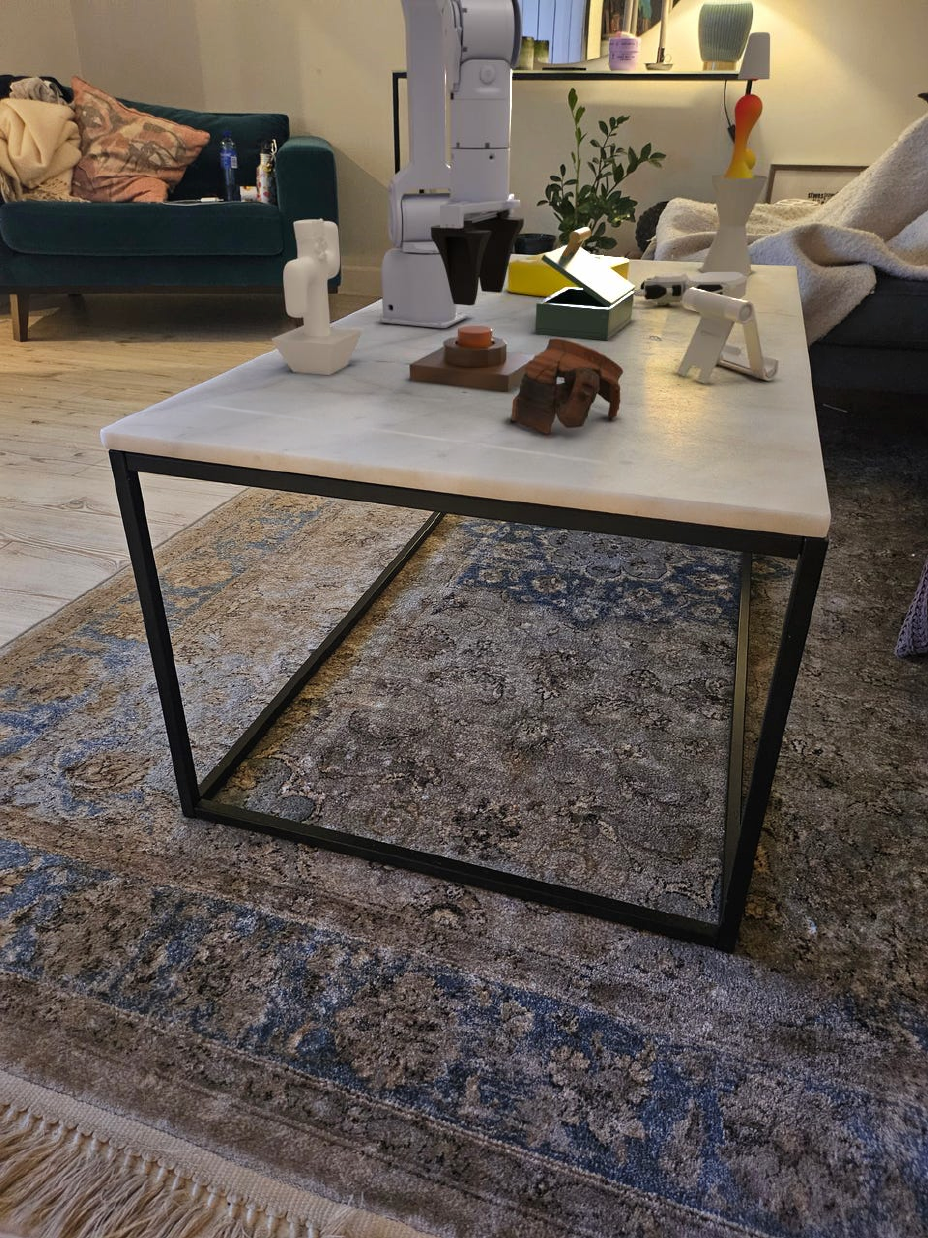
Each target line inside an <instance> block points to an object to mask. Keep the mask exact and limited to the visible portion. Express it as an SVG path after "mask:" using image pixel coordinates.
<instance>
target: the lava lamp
mask: <svg viewBox="0 0 928 1238" xmlns="http://www.w3.org/2000/svg"><path fill="white" fill-rule="evenodd" d="M770 68H771V35H770V33H769V32H767V31H756V32H751V33H750V34H749V36H748V40H747V43H746V47H745V50H744V53H743V58H742V62H741V65H740V69H739V72H738V77H737V80H741V81H742V80H745V81H748V80H750V81H752V82H757V81H758V80H762V81H763V80H770V76H771V74H770V73H771V72H770V71H771V69H770ZM763 107H764V106H763V102H762V100H761V97H759V96H758V95H756V94H754V93H747V94H745V95H743V96H741V97H740V98H739V99H738V100H737V102H736V104H735V106H734V134H735V136H734V145H733V146H734V147H733V153H732V156H731V161H730V164H729V166H728V168H727V170H726V172H725V174H713V175H711V182H712V187H713V193H714V199H715V205H716V211H717V216H718V222H719V225H718V228H717V230H716V232H715V234H714V237H713V240H712V242H711V245H710V247H709V249H708V252H707V254H706V257H705V259H704V261H703V263H702V266H701V268H700V271H701V272H700V273H706V272H739V273H742V274H745V273H750V274H749V275H751V274H752V273H753V272H752V266H751V265H752V264H751V258H750V249H749V243H748V235H747V227H746V226H747V223H748V220H749V218H750V216H751V214H752V212H753V210H754V208H755V206H756V204H757V201H758V200H759V198H760V195H761V194H762V191H763V189H764V187H765V185H766V183H767V180H768V176H764V175H757V174H756V175H755V174H753V173H752V172H751V170H752V169H754V167H755V165H756V159H757V158H756V153H754V151H753V150H752V149H748V148H747V147H748V141H749V137H750V135H751V133H752V130H753V129H754V127H755V125H756V123H757V122H758V120H759V118H760V117H761V115H762V113H763Z"/></svg>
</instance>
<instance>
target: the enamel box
mask: <svg viewBox="0 0 928 1238" xmlns="http://www.w3.org/2000/svg"><path fill="white" fill-rule="evenodd" d="M634 296H635V295H634V291H632V292H631V293H629V294H628V295H627V296H625V297H624V298H622V299H621V300H619V301H618V302H617V303H615V304H614V305H612V306H611V307H609V308H608V307H606V306H605V305H603V304H602V303H601V302H599V301H598V300H596V299H595V298H594V297H592V296H591V295H590V294H588V293H587V292H585V291H584V290H583V289H581V288H569V287H566V288H564V289H562V290H560V291H558V292H556V293H555V294H553V295H551V296H549V297H546V298H544V299H542V300H540V301H538V302H536V306H535V307H536V308H535V330H534V333H535V335H544V336H545V335H546V336H556V337H565V338H566V337H569V338H575V339H577V338H578V339H587V340H596V341H597V340H598V341H608V340H609V339H611V338H612V337H613V336H615V335H616V334H617V333H618V332H620V331H621V330H622V329H623V328H624V327H626V326H627V325H628V324H630V323H631V322H632V316H633V307H634V305H633V304H634Z"/></svg>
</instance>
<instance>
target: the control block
mask: <svg viewBox="0 0 928 1238" xmlns="http://www.w3.org/2000/svg"><path fill="white" fill-rule="evenodd" d="M442 344H443V345H442V347H440V348H438V349H436V350H434V351H432V352H431V353H429V354H426V355H425V356H423V357H421V358H419V359H418V360H415V361H413V362H412V363H410V364H409V381H413V382H420V383H429V384H437V385H445V386H454V387H462V388H470V389H479V390H486V391H487V390H488V391H494V392H495V391H497V392H504V393H509V392H510V391H512V390H513V389H515V387H518V385H521V383H522V382H521V380H522V378H523V376H524V374H526V371H525V367H526V366H527V365H528V363H529V361H530V360H532V359H533V358H534V357H535V356H536V355H537V354H536V355H535V354H527V353H526V354H525V353H517V352H509V351H507V347H508V346H507V345H508V344H507V342H506V341H505V340H504V339H502V338H499V337H496V336H495V337H494V336H492V345H491V346H486V347H464V346H460V345H458V336H454V337H449V338H447V339H445V340H444V341H443V342H442Z"/></svg>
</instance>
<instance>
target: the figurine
mask: <svg viewBox="0 0 928 1238" xmlns="http://www.w3.org/2000/svg"><path fill="white" fill-rule="evenodd" d="M292 224H293V230H294V235H295V241H296V249H297V250H296V251H297V258H294V259H292V260H289V261H287V263H286V264H285V265H284V269H283V278H282V279H283V281H282V282H283V292H284V302H285V311H286V313H287V315H288V316H290V317H291V318H297V319H299V318H302V319H303V325H301V326H299V327H296V328H294V329H292V330H289V331H287V332H284V333H282V334H279V335H277V336H274V337H272V338H271V339H270V340H271V341H272V343H273V344H274V346H275V347H276V349H277V351H278V353H280V354H281V356H282V357H283V359H284V360H285V362H286V363H287V365H288V367H289V368H290V369H291V371H292V372H293V373H294V372H295V373H304V374H312V375H323V376H330V375H332V374H334V373H336V372H338V371H340V370H342V369H343V368H345V367H347V366H348V365H349V363H350V361H351V358H352V355H353V353H354V351H355V349H356V346H357V344H358V342H359V340H360V337H361V336H362V333H363V329H355V328H342V327H331V319H330V307H329V306H330V305H329V291H328V280H331V279H333V278H335V277H337V275H338V274H339V272H340V267H341V252H340V251H341V250H340V238H339V237H340V235H339V228H338V225H337V224H336V222H334V221H330V220H324V219H323V218H319V219H302V220H296V221H293V223H292Z"/></svg>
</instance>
